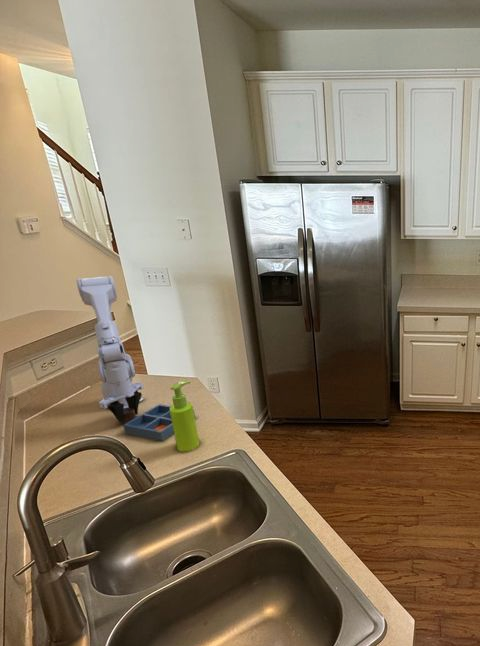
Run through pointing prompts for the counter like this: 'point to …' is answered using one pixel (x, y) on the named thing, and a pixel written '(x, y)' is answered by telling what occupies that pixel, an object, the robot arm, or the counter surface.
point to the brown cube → (128, 414)
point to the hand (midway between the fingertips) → (127, 417)
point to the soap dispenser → (183, 420)
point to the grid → (152, 424)
